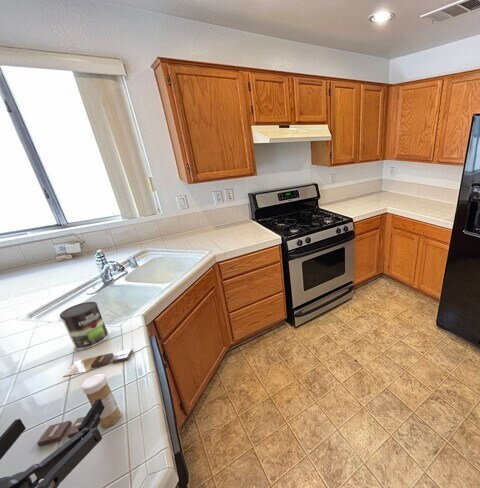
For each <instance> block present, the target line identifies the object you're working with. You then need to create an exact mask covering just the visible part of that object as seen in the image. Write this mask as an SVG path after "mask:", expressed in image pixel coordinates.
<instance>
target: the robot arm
mask: <svg viewBox="0 0 480 488" xmlns="http://www.w3.org/2000/svg"><path fill="white" fill-rule="evenodd" d="M103 410H104V406H103V403H102V401H101V399H96V400H95V402H94V404H93V405H92V406H91V407H90V409H88V412H87V414H86V415H85V416H86V417H85V416H84V417H85V418H84V420H83V421H82V423H81V425H80V426H79V428H78V430H79V433H77V434H76V435H75V436H73V437H71V438H69V439H68V440H67V441H66V442H64V443H63V444H61V446H59V447H58V448H57V449H55V450H54V451H53V452H52V453H50V454H49V455H48V456H46V457H45V458H43V459H42V460H41V461H40V462H38V463H34V464H32V465H30V467H28V468H27V469H26V470H23V471H21V472H20V471H19V472H17V473H16V474H13V475H9V476H3V477H0V488H58V487H59V486H60V484H61V483H62V482H63V481H64V480H66V478H67V476H69V474H71V473H72V471H73V470H74V469H75V468H76V467H77V466H78V465H79V464H80V463H81V462H82V461H83V460H84V459H85V458H86V457H87V456H88V455H89V454H90V453H91V451H92V450H93V449H94V448H95V447H96V446H97V445H98V444H99V443H100V442H101V441H102V439H103V436H102V433H101V432H100V429H99V428H98V426H99V425H100V421H101V418H100V415H101V414H102V412H103ZM26 429H27V428H26V426H25V424H24V423H23V421H22V419H21V418H17V419H15V420H14V421H13V422H12V423H11V424H10V425H9V427H7V429H5V431H4V432H3V433H2V434H1V435H0V461H1V460H2V459H3V457H4V456H5V455H6V454H7V452H8V451H9V450H11V448H12V447H13V445H14V444H15V443H16V441H17V440H18V439H19V438H20V436H21V435H22V434H23V433H24V432H25V431H26ZM32 475H34V476H35V477H36V479H35V480H34V481H32V477H31V476H32Z"/></svg>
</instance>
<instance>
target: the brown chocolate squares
mask: <svg viewBox="0 0 480 488" xmlns="http://www.w3.org/2000/svg"><path fill="white" fill-rule="evenodd" d="M85 417H86V415H85V416H81V417H78V418H76V420H75V422H74V423H73V422H72V421H71V420H67V421H63V422H59V423H55V424H50V425H49V426H48V427H47V428H46V430H45V431H44V432H43V434H42V436H40V438H39V439H38V441H37V442H36V444H37V446H38V447H41V446H45V445H49V444H53V443H56V442H60V441H62V439H63V438H64V437H65V435H66V437H67V438H68V439H71V438H72V437H73V436H75V435H76V434H77V433H79V430H78V428H79V426H80V425H81V423H82V421H83V420H84V418H85ZM69 429H70V430H69ZM68 430H69V431H68ZM67 432H68V433H67ZM66 433H67V434H66Z"/></svg>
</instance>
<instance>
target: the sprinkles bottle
mask: <svg viewBox="0 0 480 488" xmlns="http://www.w3.org/2000/svg"><path fill="white" fill-rule="evenodd" d="M81 389H82V392H83V394H85V396H86V398H87V400H88V402H89V404H90V406H91V407H92V405H93V404H94V402H95V400H96V399H101V401H102V403H103V406H104V410H103V412H102V414H101V415H100V418H101V421H100V423H99V426H100V427H101V428H108V427H110V426H112V425H114V424H116V423H117V422H118V421H119V420H120V418H121V416H122V412H121V410H120V409H119V407H118V403H117V400H116V398H115V396H114V394H113V392H112V389H111V388H110V386H109V384H108V379H107V377H106V375H105V374H104V373H98V374H94V375H92V376H90V377H88V378H87V379H85V381H83V383H82V384H81Z"/></svg>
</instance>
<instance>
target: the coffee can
mask: <svg viewBox="0 0 480 488" xmlns="http://www.w3.org/2000/svg"><path fill="white" fill-rule="evenodd" d="M59 317H60V319H61V321H62V323H63V325H64V327H65V329H66V331H67V333H68V336H69V338H70V340H71V343H72V344H73V347H74V350H77V351H78V350H79V351H81V350H87V349H90V347H91V348H94V347H96V346H97V345H99V344H101V343H103V342H104V341H106V340H107V339H108V337H109V335H110V334H109V332H108V329H107V327H106V325H105V321H104V318H103V317H102V314H101V311H100V309H99V307H98V303H97V301H86V302H85V301H84V302H81V303H77V304H74V305H72V306H70V307H68V308H66V309H64V310H63V311H61V312H60V313H59ZM95 345H96V346H95Z"/></svg>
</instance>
